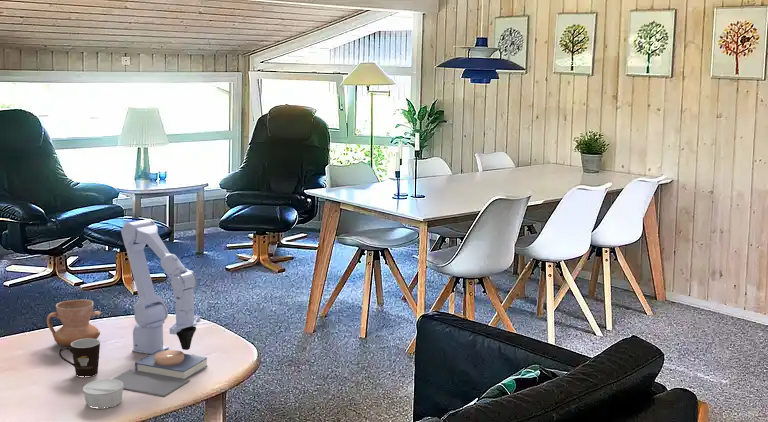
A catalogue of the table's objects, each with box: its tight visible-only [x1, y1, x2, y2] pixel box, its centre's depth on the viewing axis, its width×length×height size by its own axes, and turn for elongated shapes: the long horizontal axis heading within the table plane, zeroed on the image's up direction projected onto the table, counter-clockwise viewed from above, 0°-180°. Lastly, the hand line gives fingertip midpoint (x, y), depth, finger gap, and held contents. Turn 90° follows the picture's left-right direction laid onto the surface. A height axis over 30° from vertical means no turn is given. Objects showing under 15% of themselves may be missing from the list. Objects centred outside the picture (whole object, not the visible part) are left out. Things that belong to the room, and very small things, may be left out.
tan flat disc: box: [155, 349, 185, 366], centre depth 272 cm, size 9×9×2 cm
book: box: [134, 350, 208, 380], centre depth 274 cm, size 18×13×3 cm
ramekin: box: [82, 378, 124, 408], centre depth 247 cm, size 11×11×5 cm
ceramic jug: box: [46, 299, 102, 348], centre depth 295 cm, size 18×14×14 cm
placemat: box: [112, 369, 190, 397], centre depth 262 cm, size 22×13×1 cm, turn 69°
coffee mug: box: [58, 338, 101, 377], centre depth 269 cm, size 12×9×10 cm
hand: (185, 349), depth 281 cm, fingers closed
